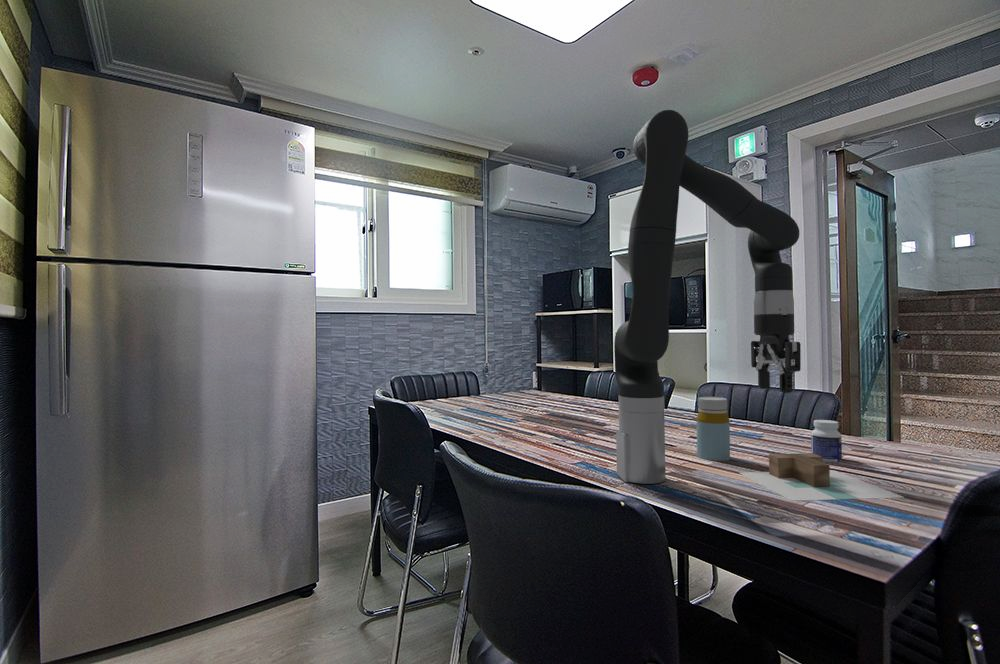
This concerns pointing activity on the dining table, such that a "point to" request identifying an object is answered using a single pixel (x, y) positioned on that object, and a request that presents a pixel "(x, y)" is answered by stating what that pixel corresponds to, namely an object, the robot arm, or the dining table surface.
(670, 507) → the dining table surface
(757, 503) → the dining table surface
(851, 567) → the dining table surface
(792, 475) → the tee block
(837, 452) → the pill bottle
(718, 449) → the bottle
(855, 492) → the mat
